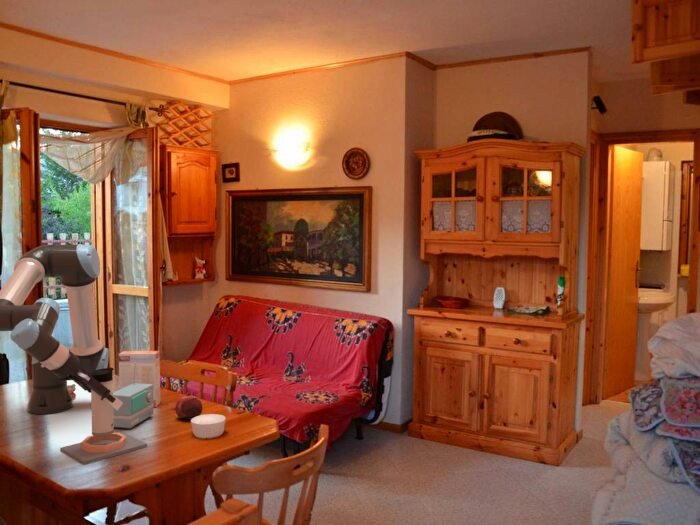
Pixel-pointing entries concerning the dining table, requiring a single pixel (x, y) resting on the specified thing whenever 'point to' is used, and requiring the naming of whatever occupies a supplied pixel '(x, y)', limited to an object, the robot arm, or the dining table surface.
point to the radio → (133, 404)
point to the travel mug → (102, 405)
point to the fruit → (188, 407)
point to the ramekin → (208, 425)
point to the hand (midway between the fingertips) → (114, 404)
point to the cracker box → (140, 370)
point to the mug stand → (102, 447)
